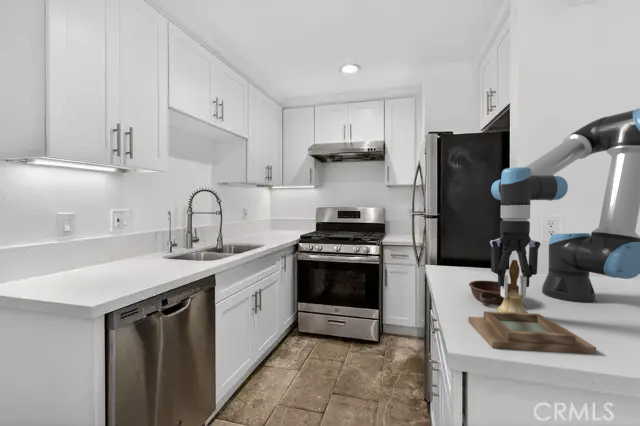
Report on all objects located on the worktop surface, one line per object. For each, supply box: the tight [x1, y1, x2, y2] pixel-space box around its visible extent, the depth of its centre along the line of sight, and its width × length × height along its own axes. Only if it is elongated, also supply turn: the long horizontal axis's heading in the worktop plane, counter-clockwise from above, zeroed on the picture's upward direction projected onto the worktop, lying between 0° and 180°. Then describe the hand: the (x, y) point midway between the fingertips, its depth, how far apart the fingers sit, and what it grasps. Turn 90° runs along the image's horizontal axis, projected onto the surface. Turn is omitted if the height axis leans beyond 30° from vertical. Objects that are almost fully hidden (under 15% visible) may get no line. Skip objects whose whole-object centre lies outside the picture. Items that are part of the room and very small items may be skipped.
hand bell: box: [496, 259, 529, 313], centre depth 93 cm, size 8×8×16 cm
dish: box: [468, 280, 519, 306], centre depth 109 cm, size 18×22×5 cm
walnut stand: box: [467, 310, 597, 355], centre depth 79 cm, size 22×16×4 cm
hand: (513, 297), depth 93 cm, fingers closed on hand bell, 4 cm apart
